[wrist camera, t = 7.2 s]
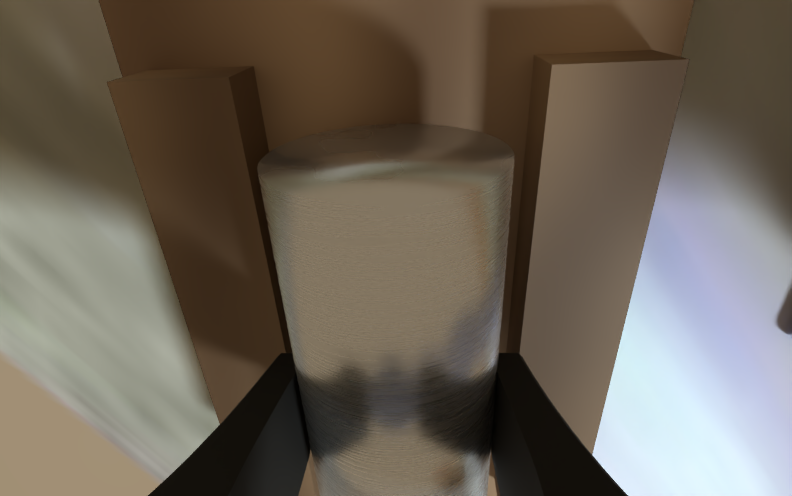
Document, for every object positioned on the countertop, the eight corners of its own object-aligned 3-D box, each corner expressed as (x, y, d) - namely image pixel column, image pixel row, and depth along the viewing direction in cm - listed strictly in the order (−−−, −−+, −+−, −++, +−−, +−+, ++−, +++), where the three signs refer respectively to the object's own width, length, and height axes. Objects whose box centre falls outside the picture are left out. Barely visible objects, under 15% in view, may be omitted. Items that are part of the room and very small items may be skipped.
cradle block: (672, -62, 10) (763, -80, 7) (561, 476, 19) (584, 556, 16) (129, -32, 11) (32, -39, 8) (268, 472, 19) (244, 547, 17)
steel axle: (570, 153, 8) (343, 232, 5) (519, 517, 12) (386, 640, 10) (406, 114, 11) (220, 154, 9) (416, 416, 16) (297, 493, 13)
